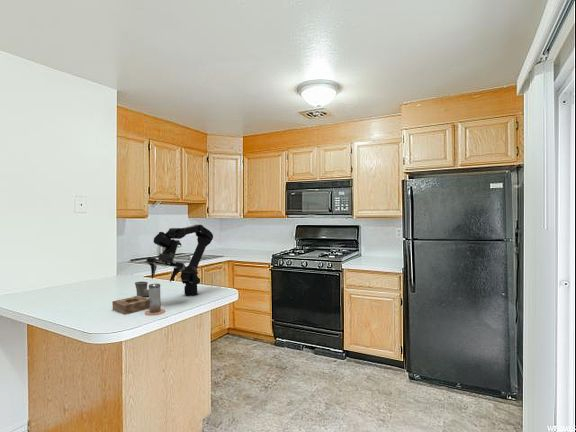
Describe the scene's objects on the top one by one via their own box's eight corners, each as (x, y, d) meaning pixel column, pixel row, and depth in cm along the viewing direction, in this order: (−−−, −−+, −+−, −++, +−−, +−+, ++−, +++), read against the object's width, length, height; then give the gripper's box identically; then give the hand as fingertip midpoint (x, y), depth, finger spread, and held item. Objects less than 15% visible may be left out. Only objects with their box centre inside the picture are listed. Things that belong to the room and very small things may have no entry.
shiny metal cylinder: (158, 309, 164) (157, 283, 164) (162, 311, 160) (161, 284, 160) (147, 311, 160) (146, 284, 160) (152, 313, 157) (151, 286, 157)
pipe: (152, 298, 186) (151, 283, 186) (131, 297, 189) (131, 283, 189) (159, 295, 192) (158, 281, 192) (139, 294, 195) (138, 280, 195)
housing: (138, 303, 176) (138, 295, 176) (151, 307, 168) (151, 299, 168) (112, 309, 166) (112, 301, 166) (125, 314, 158) (125, 305, 158)
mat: (152, 308, 166) (152, 308, 166) (169, 309, 164) (169, 309, 164) (140, 314, 157) (140, 313, 157) (157, 315, 155) (157, 314, 155)
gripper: (147, 243, 171) (137, 273, 166) (184, 249, 172) (176, 280, 166) (154, 249, 182) (144, 277, 176) (188, 255, 182) (180, 284, 176)
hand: (161, 280), depth 173 cm, fingers open, 9 cm apart
